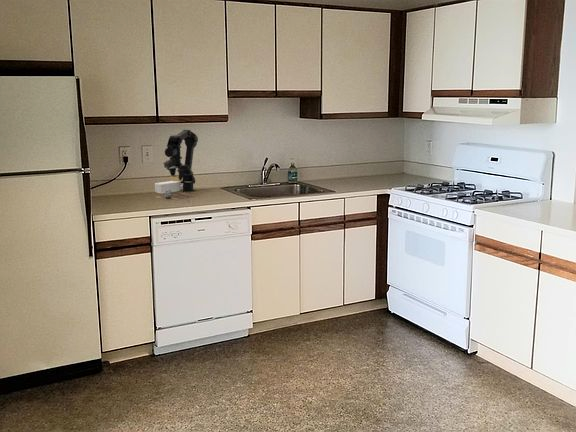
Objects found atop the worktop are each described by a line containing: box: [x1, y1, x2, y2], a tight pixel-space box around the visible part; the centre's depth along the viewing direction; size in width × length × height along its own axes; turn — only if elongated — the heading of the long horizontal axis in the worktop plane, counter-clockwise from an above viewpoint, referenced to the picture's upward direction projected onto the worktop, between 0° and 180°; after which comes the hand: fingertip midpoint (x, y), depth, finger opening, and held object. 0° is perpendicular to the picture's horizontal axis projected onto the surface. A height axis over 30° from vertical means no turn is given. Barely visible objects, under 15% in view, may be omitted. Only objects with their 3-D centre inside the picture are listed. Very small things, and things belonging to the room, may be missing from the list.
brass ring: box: [170, 174, 183, 181], centre depth 374 cm, size 7×7×3 cm
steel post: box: [164, 190, 172, 200], centre depth 365 cm, size 4×4×5 cm
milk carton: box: [154, 180, 183, 194], centre depth 391 cm, size 7×7×19 cm
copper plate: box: [156, 192, 194, 201], centre depth 372 cm, size 20×16×1 cm
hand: (176, 179), depth 374 cm, fingers closed on brass ring, 7 cm apart
